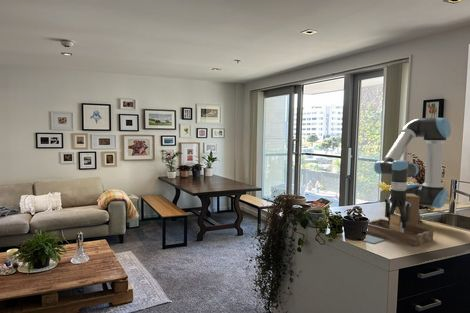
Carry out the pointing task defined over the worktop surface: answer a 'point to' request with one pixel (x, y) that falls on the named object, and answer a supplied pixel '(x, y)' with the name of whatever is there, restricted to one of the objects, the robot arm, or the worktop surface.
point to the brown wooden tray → (400, 233)
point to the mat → (373, 239)
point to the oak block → (395, 222)
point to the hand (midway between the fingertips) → (396, 232)
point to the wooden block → (411, 209)
